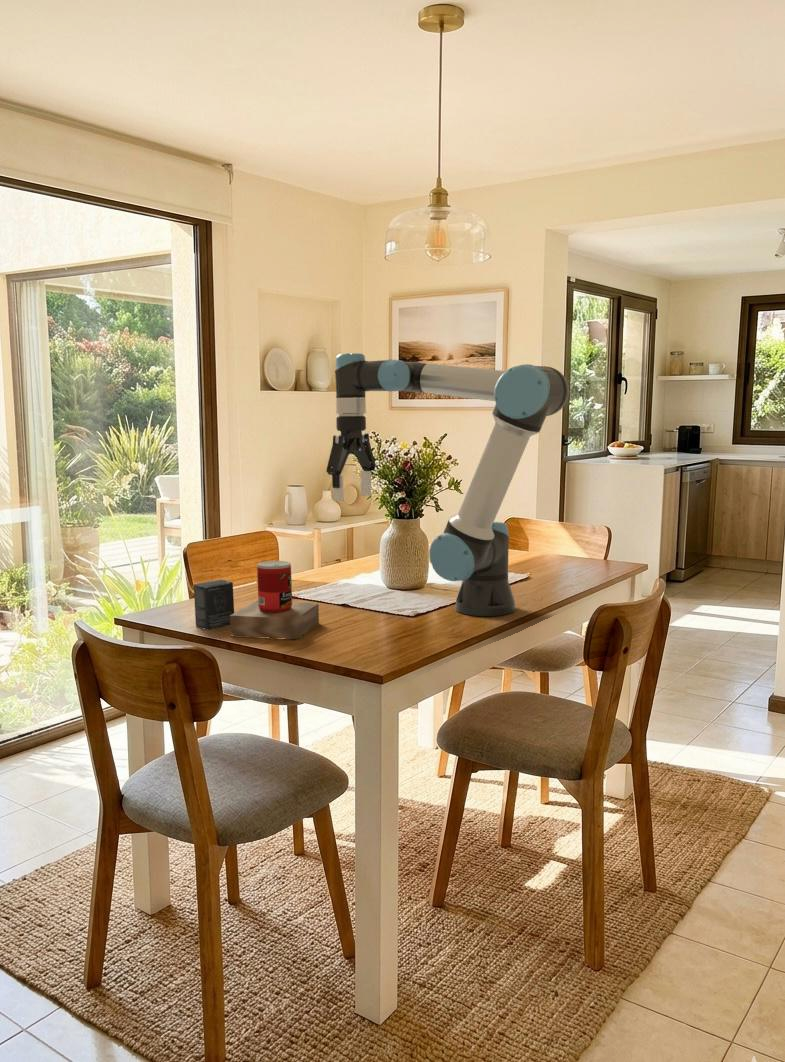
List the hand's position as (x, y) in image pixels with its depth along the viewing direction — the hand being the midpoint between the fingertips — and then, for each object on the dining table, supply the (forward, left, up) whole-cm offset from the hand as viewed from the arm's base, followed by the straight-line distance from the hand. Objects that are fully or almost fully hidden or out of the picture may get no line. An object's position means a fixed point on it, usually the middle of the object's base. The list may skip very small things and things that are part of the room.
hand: (352, 498), depth 236 cm
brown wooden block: (+4, +29, -29) cm, 41 cm away
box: (+20, +32, -29) cm, 48 cm away
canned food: (+4, +29, -24) cm, 38 cm away
